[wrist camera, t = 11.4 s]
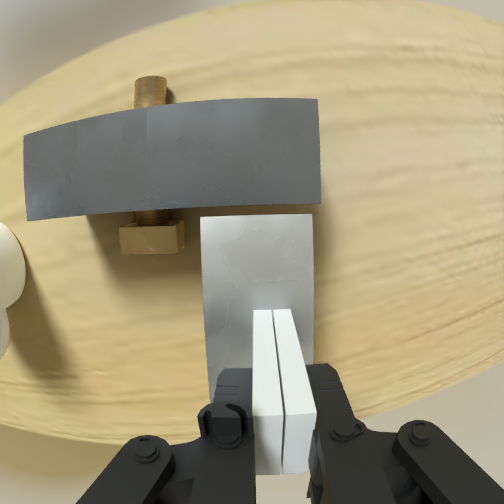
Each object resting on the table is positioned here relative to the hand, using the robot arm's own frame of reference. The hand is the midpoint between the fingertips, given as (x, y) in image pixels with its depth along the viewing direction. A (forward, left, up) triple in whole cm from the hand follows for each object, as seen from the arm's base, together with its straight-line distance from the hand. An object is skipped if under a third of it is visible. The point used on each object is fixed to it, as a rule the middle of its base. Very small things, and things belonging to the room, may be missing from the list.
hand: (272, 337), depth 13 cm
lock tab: (-1, +1, -1) cm, 2 cm away
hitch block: (-5, +8, -9) cm, 13 cm away
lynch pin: (-7, +8, -9) cm, 14 cm away
